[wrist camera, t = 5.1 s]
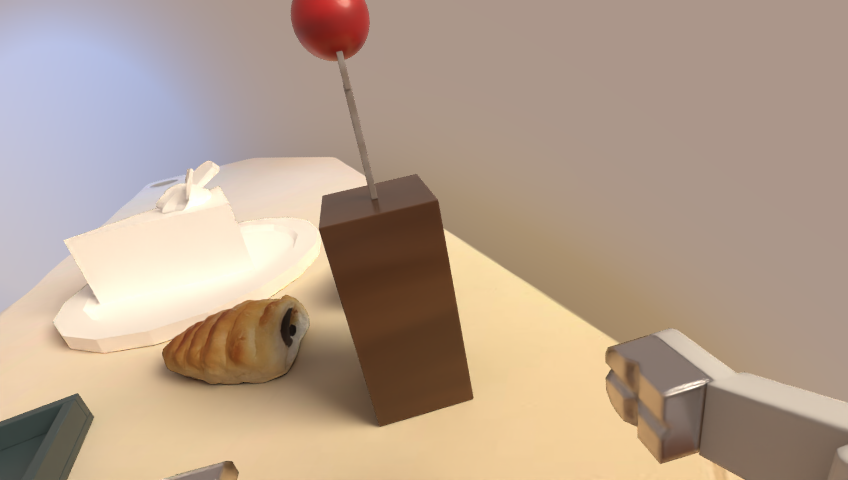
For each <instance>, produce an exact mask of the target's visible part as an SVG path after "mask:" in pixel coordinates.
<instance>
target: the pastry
mask: <svg viewBox="0 0 848 480" xmlns="http://www.w3.org/2000/svg"><path fill="white" fill-rule="evenodd" d="M309 325H310V321H309V316H308V313H307V311H306V309H305V308H304V306H303V305H302V304H301V303H300V302H299V301H298V300H297V299H296V298H293V297H290V296H288V295H285V296H283V297H282V298H281V299H271V300H269V299H262V300H246V301H244V302H242V303H241V304H238V305H236V306H234V307H233V308H231V309H226V310H222V311H220V312H218V313H216V314H213V315H210V316H208V317H207V318H206V319H205V320H203V321H200V322H197V323H195V324H194V325H192V326H190V327H189V328H187V329H186V330H185V331H184V332H182V333H181V334H179V335H177V336H176V337H174V338H173V339H172V341H171V342H170V343H169V344H168V345H167V346H166V347H165V348H164V349H163V352H162V355H163V358H164V361H165V364H166V367H167V368H168V369H169V370H170V371H173V372H176V373H179V374H182V375H184V376H186V377H187V376H188V377H193V378H194V379H196V380H197V379H201V380H204V381H206V382H207V383H210V384H217V383H221V384H240V383H241V382H251V383H263V382H267V381H269V380H272V379H274V378H277V377H279V376H281V375H283V374H285V373H287V371H289V369H290V368H291V365H292V363H293V361H294V360H295V358H296V356H297V352H298V349H299V345H300V340H301V339H302V338H303V336H304V335H305V333H306V332H307V330H308V328H309Z"/></svg>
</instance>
